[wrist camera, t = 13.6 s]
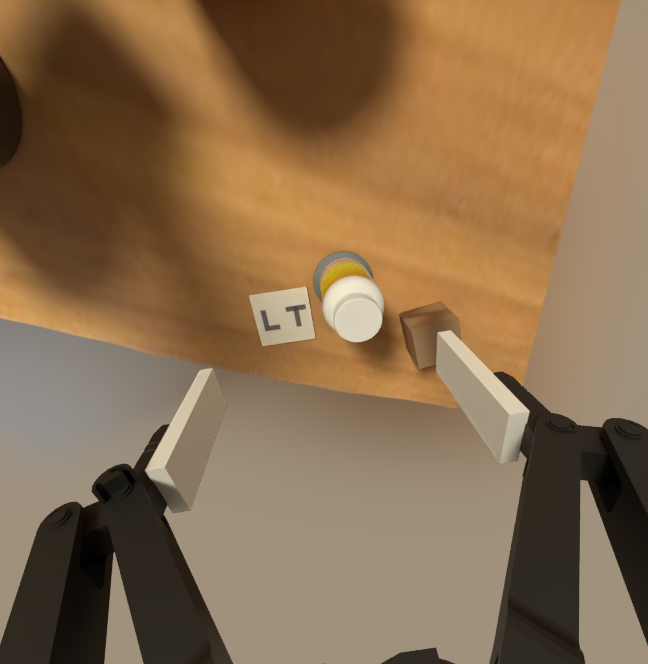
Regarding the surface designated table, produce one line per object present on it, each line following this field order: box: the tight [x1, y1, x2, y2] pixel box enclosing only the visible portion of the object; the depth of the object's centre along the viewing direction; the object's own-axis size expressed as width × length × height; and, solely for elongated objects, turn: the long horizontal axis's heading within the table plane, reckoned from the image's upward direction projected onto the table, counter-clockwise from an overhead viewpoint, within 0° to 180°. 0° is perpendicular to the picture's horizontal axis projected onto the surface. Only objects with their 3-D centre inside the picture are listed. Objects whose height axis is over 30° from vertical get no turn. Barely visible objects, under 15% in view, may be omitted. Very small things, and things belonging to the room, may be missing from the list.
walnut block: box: [399, 301, 461, 369], centre depth 41 cm, size 6×6×6 cm
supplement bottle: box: [320, 258, 384, 342], centre depth 34 cm, size 7×7×13 cm
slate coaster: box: [313, 251, 373, 301], centre depth 40 cm, size 8×8×1 cm
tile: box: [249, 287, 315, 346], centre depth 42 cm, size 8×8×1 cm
